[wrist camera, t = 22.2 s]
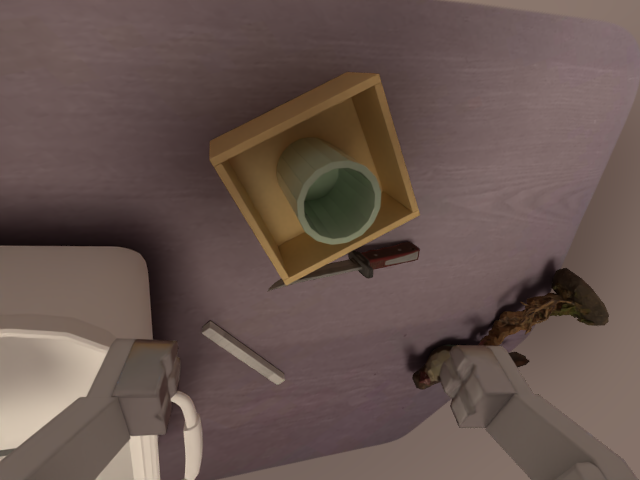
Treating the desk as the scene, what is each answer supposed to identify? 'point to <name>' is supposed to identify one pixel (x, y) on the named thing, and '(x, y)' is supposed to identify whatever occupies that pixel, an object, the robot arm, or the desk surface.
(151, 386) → the robot arm
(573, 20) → the desk surface
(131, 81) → the desk surface
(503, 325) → the sculpture
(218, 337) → the gray square bar
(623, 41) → the desk surface
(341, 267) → the knife
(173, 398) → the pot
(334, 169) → the tumbler
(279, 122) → the tote
